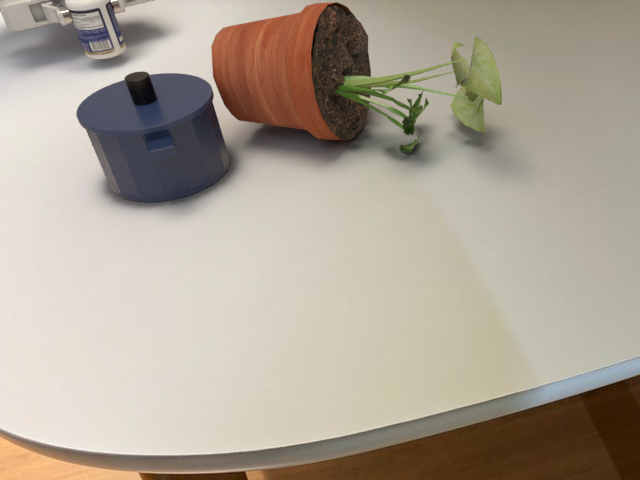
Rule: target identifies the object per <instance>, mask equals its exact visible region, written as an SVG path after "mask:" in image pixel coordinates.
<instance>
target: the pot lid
mask: <svg viewBox="0 0 640 480" xmlns="http://www.w3.org/2000/svg"><path fill="white" fill-rule="evenodd" d="M212 101H214V90H213V86H212V85H211V84H210V83H209V82H208V81H207V80H206V79H204V78H202V77H200V76H197V75H194V74H193V75H192V74H188V73H177V72H176V73H175V72H173V73H172V72H166V73H152V74H151V73H149V72H147V71H135V72H130V73H128V74H126V75H125V76H124V78H123V80H120V81H117V82H114V83H111V84H108V85H106V86H104V87H102V88H100V89H98V90H96V91H95V92H94V91H93V92H92V93H91V94H89V95H88V96H87V97H86V98H84V99H83V100H82V101H81V102H80V103H79V105H78V107H77V109H76V111H75V112H76V113H75V114H76V118H77V121H78V124H79V125H80V126H81V128H83V129H84V130H85V131H86V130H88V131H90V132H92V133H95V134H100V135H105V136H136V135H144V134H150V133H155V132H159V131H163V130H166V129H170V128H173V127H176V126H178V125H181V124H183V123H185V122H188V121H190V120H192V119H193V118H195V117H197V116H198V115H200V114H201V113H203V112H204V111H205V110H206V109H207V108H208V107H209V106H210V105H211V103H212Z"/></svg>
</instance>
